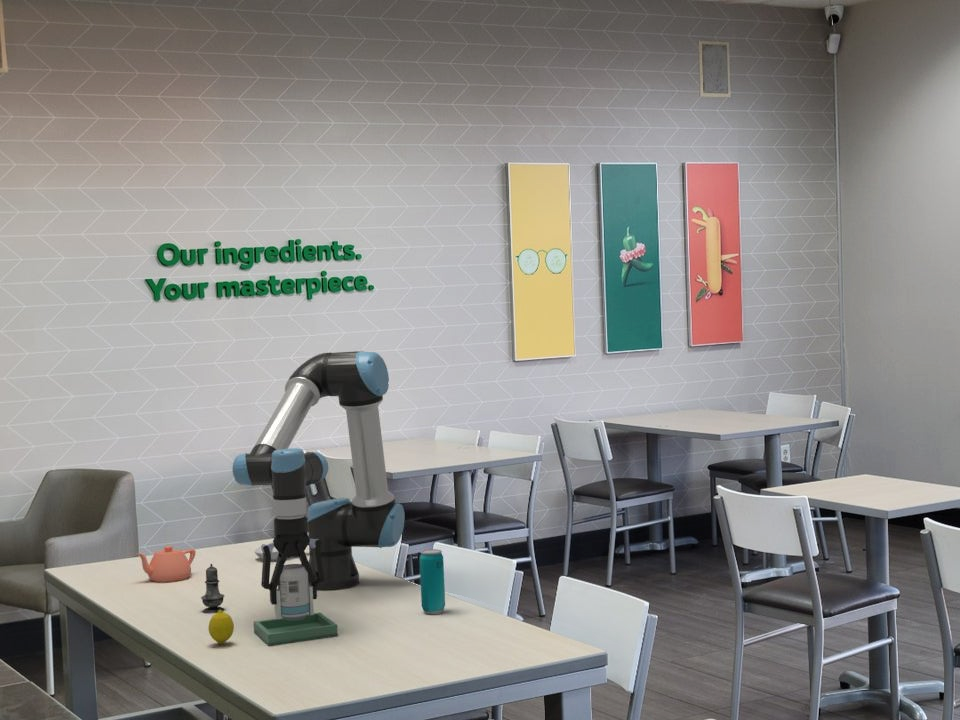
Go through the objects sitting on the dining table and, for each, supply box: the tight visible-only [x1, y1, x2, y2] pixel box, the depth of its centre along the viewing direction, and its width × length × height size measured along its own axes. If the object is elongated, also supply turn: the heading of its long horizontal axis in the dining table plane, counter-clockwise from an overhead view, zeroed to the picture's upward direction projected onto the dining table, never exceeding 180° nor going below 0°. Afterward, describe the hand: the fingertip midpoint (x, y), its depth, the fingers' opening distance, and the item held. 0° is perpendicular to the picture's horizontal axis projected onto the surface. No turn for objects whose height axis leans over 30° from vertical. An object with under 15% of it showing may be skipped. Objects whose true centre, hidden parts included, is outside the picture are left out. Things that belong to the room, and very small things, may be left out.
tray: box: [253, 612, 339, 647], centre depth 273 cm, size 16×14×2 cm
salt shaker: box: [200, 563, 225, 614], centre depth 300 cm, size 6×6×12 cm
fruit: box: [208, 609, 235, 646], centre depth 266 cm, size 6×6×8 cm
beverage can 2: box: [419, 548, 446, 615], centre depth 288 cm, size 6×6×15 cm
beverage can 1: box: [277, 563, 310, 621], centre depth 272 cm, size 7×7×12 cm
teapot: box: [135, 545, 196, 583], centre depth 342 cm, size 12×18×10 cm
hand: (294, 615), depth 273 cm, fingers closed on beverage can 1, 7 cm apart
